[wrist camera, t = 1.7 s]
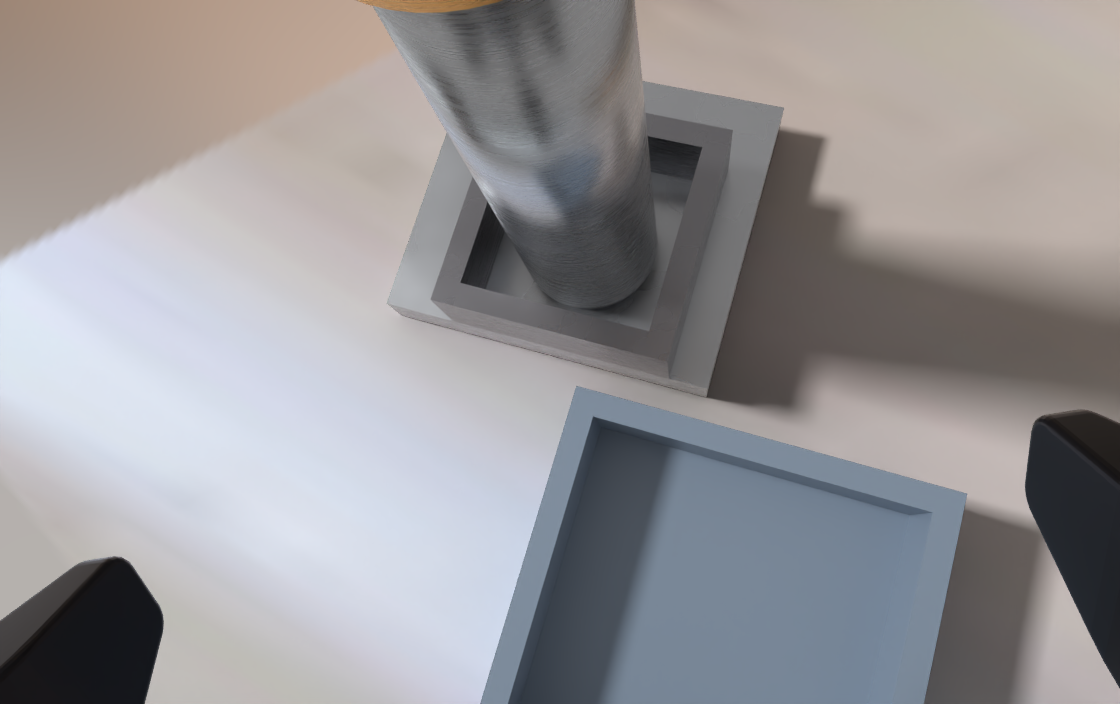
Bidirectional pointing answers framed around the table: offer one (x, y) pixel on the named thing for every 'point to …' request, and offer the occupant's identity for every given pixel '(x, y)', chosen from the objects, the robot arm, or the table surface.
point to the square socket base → (665, 295)
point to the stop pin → (545, 129)
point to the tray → (721, 571)
